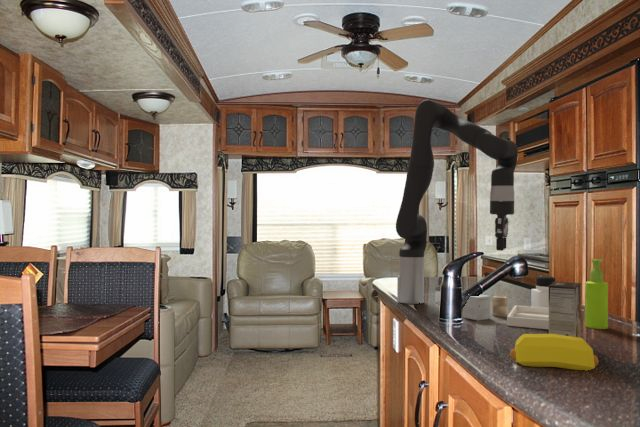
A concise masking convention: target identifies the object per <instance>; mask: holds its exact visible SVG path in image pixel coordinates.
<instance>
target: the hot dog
mask: <svg viewBox="0 0 640 427" xmlns="http://www.w3.org/2000/svg"><path fill="white" fill-rule="evenodd" d="M509 355H510V358H511V360H513V361H514V362H515V361H516V363H518V364H519V365H521V366H524V367H537V368H538V367H539V368H541V367H542V368H546V367H547V368H549V367H550V368H551V367H552V368H553V367H554V368H560V369H568V370H573V371H582V370H585V371H584V372H588V370H589V371H591V370H593V369H595V368H596V367H597V366H598V364H599V358H598V356H597V355H595V354H594V349H593V348H592V347H591V346H590V345H589V343H588V342H586V340H585V339H584V338H583V337H581V338H579V337H572V336H565V335H557V334H549V333H522V335H520V336H519V337H518V338H517V339H516V341H515V344H514V348H512V349H511V350H510V353H509Z"/></svg>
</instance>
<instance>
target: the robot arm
mask: <svg viewBox="0 0 640 427" xmlns="http://www.w3.org/2000/svg"><path fill="white" fill-rule="evenodd" d="M413 122H414V124H413V134H412V135H413V136H412V137H413V138H412V145H411V148H410V156H409V162H408V166H407V172H406V179H405V185H404V189H403V195H402V199H401V200H402V201H401V203H400V206H399V211H398V214H397V218H396V220H395V221H396V222H395V231H396V233H397V235H398V236H399V237H400V238H401V239H404V244H403V245H402V246H401V248H400V249H399V255H398V256H399V258H398V259H399V263H398V264H399V266H398V267H399V268H398V269H399V270H398V271H399V272H398V273H399V275H398V276H397V283H396V284H397V295H396V296H397V300H396V301H397V302H396V303H401V304H410V305H417V304H418V305H420V304H424V303H425V251H426V250H427V243H428V242H427V240H428V239H427V238H428V224H427V221H426V219H425V218H424V217H423V216H422V215H421V214H419V208H420V205H421V201H422V200H423V197H424V196H425V195H426V194H425V193H426V192H427V190H428V189H429V188H430V185H431V182H432V179H433V173H434V169H435V160H434V159H435V158H434V153H433V149H432V143H431V141H432V133H433V129H434V128H437V129H440V130H444V131H446V132H449V133H451V134H453V135H454V136H456V137H457V138H458V139H459V140H461V141H462V142H464V143H465V144H467V145H469V146H470V147H473V148H475V149H477V150H479V151H480V152H481V153H483V154H484V155H485V156H487V157H489V158H491V159H493V160H496V161H497V162H496V168H494V169H492V170H491V174H490V179H491V180H490V182H491V183H490V191H489V192H490V193H489V214H490V215H496V216H497V217H495V218H494V231H495V232H494V237H495V239H496V242H495V243H496V244H495V245H496V246H495V247H496V248H495V249H496V251H502V252H503V251H504V250H505V249H507V238H508V234H509V233H508V232H509V225H510V224H509V223H510V222H509V218H508V217H507V216H508V215H515V183H514V182H515V169H516V167H517V166H516V165H517V161H518V158H519V156H518V155H519V149H518V146H517V144H516V143H515V142H514V141H513V140H511V139H506V138H502V137H500V136H497V135H495V134H493V133H492V132H491V131H490V130H488V129H486V128H484V127H482V126H480V125H477V124H475V123H473V122H472V121H469V120H466V119H464V118H462V117H461V116H459V115H457V114H455V113H454V112H453V111H451V110H450V109H449V108H448V107H446V106H445V105H444V104H443V103H440V102H438V101H434V100H431V99H424V100H422V101H421V102H420V103H418V105H417V107H416V110H415V115H414V121H413ZM419 303H420V304H419Z"/></svg>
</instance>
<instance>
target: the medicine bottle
mask: <svg viewBox="0 0 640 427" xmlns="http://www.w3.org/2000/svg"><path fill="white" fill-rule="evenodd" d="M553 282H556V278H555V277H553V276H551V275H550V276H549V275H539V276H536V278H535V288H531V290H530V291H531V294H530V295H531V297H530V298H531V300H530V301H531V302H530V303H531V304H530V306H531V307H543V308H549V285H550V284H552V283H553Z"/></svg>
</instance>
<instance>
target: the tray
mask: <svg viewBox="0 0 640 427" xmlns="http://www.w3.org/2000/svg"><path fill="white" fill-rule="evenodd" d="M506 326H510V327H520V328H528V329H529V328H530V329H531V328H532V329H540V330H541V329H542V330H549V308H543V307H531V305H529V306H528V305H514V306H512V309H511V310H510V312H509V313H507V315H506Z"/></svg>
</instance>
